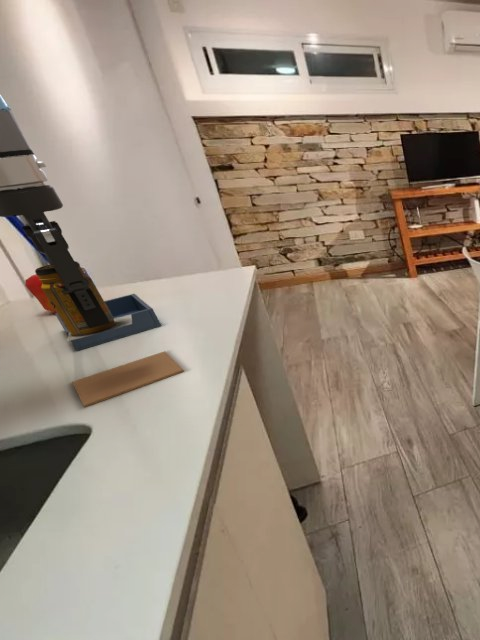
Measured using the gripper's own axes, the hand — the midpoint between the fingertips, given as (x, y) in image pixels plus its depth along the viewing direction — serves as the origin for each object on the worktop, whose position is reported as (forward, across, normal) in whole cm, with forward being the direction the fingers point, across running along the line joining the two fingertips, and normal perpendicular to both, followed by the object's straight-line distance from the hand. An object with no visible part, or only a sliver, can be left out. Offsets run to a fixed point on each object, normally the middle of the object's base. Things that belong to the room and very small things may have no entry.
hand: (96, 320), depth 84 cm
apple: (+12, +68, +2) cm, 69 cm away
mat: (+12, 0, 0) cm, 12 cm away
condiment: (+2, 0, 0) cm, 2 cm away
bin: (+12, +37, -3) cm, 39 cm away
